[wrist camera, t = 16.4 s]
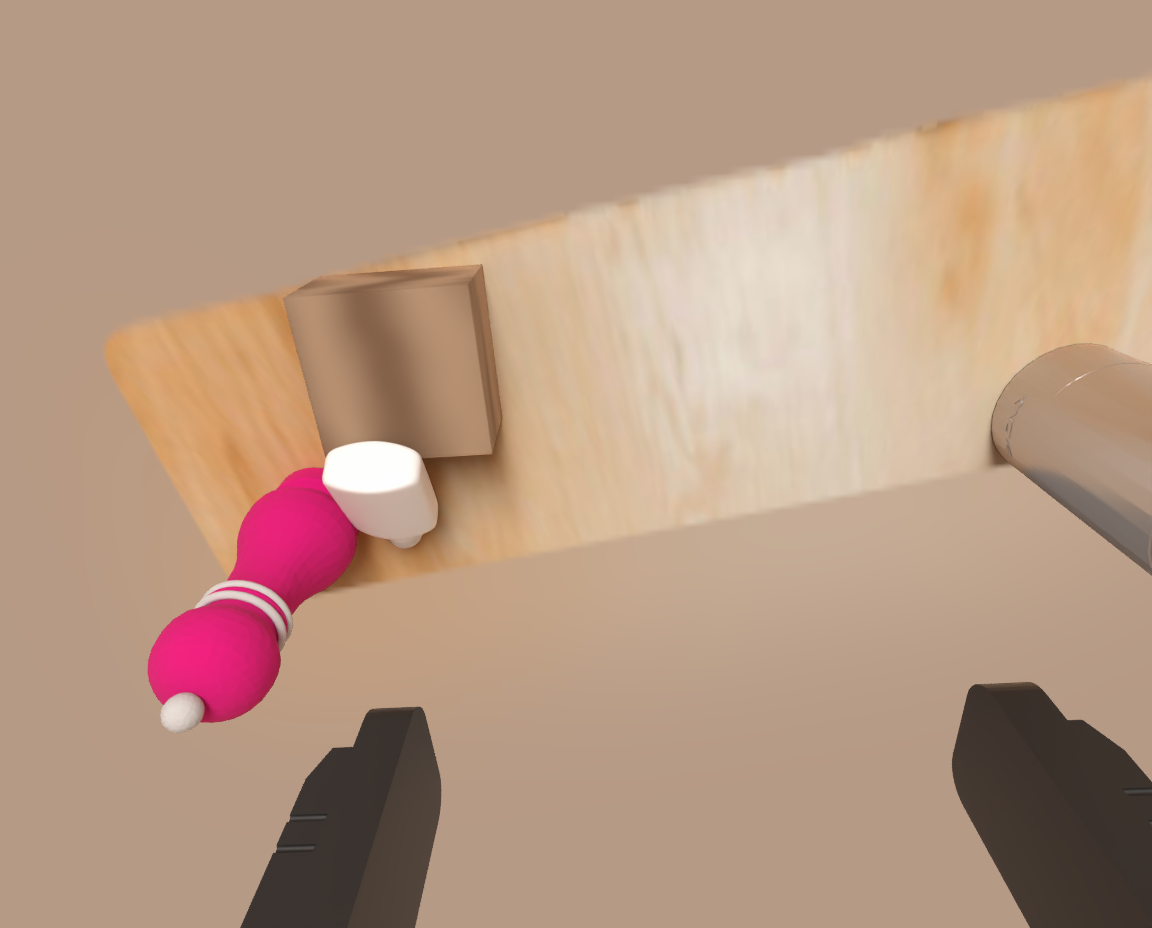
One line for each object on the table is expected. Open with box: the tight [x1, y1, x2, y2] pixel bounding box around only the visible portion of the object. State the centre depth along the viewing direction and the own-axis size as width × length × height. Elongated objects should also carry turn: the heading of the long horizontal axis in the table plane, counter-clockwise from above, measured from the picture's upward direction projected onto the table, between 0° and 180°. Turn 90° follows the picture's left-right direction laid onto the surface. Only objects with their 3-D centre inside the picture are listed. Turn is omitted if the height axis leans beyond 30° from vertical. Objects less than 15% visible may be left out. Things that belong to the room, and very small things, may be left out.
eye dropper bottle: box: [322, 441, 438, 549], centre depth 44 cm, size 4×6×12 cm
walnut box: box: [283, 265, 502, 458], centre depth 41 cm, size 10×10×6 cm
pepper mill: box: [148, 468, 360, 733], centre depth 39 cm, size 7×7×20 cm
